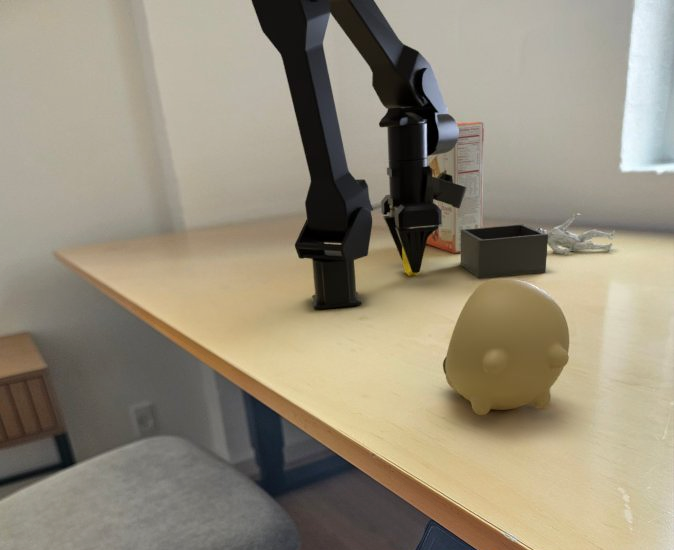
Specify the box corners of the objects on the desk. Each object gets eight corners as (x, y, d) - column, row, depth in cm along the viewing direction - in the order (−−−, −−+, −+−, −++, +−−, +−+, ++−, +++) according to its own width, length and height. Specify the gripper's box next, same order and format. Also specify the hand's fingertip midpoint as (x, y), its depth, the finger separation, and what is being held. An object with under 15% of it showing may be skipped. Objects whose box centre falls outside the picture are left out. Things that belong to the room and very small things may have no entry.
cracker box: (420, 243, 128) (417, 124, 119) (448, 239, 129) (448, 121, 120) (452, 254, 116) (452, 122, 107) (482, 250, 117) (485, 119, 108)
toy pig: (547, 433, 58) (521, 331, 62) (605, 367, 47) (569, 248, 51) (439, 443, 58) (420, 338, 61) (472, 378, 46) (445, 256, 50)
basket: (545, 272, 98) (548, 234, 96) (478, 278, 98) (479, 240, 96) (521, 258, 108) (523, 224, 106) (460, 264, 108) (460, 229, 106)
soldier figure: (608, 261, 106) (536, 240, 107) (597, 276, 111) (528, 256, 112) (619, 221, 108) (548, 200, 109) (607, 238, 113) (540, 218, 114)
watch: (398, 271, 107) (397, 233, 104) (415, 269, 107) (414, 231, 105) (406, 278, 102) (405, 238, 99) (423, 276, 102) (423, 237, 99)
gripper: (478, 157, 89) (476, 273, 96) (447, 152, 106) (447, 251, 113) (397, 164, 89) (401, 281, 96) (378, 158, 105) (383, 257, 112)
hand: (410, 266), depth 104 cm, fingers open, 9 cm apart
